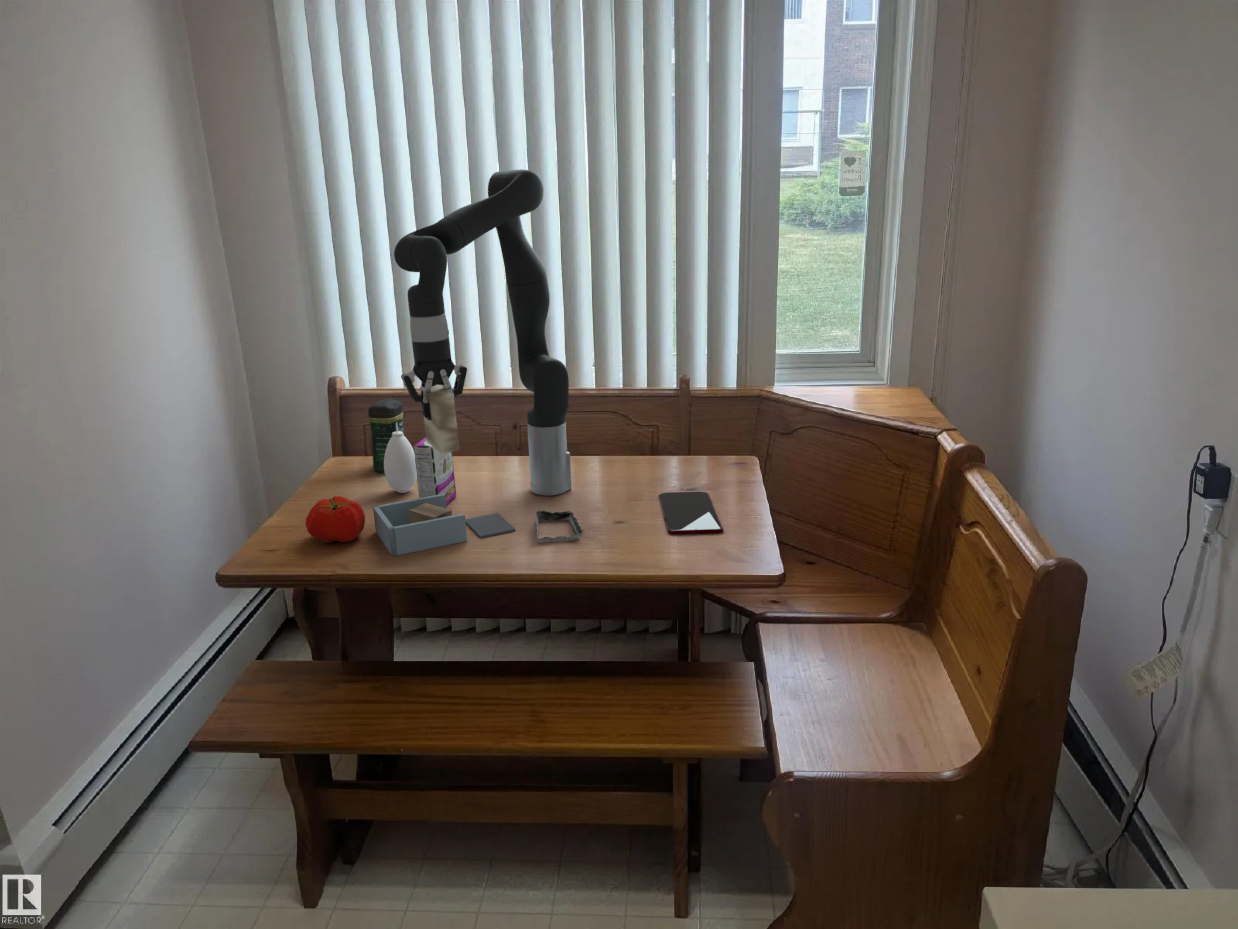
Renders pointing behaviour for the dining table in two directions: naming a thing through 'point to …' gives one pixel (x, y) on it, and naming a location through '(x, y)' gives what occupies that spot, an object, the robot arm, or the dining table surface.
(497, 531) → the mat
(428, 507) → the offcut block upper
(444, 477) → the candy bar box
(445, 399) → the beige hardcover book
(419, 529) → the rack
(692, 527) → the smartphone
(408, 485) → the sauce bottle
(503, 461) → the dining table surface
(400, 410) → the coffee jar
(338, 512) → the tomato
